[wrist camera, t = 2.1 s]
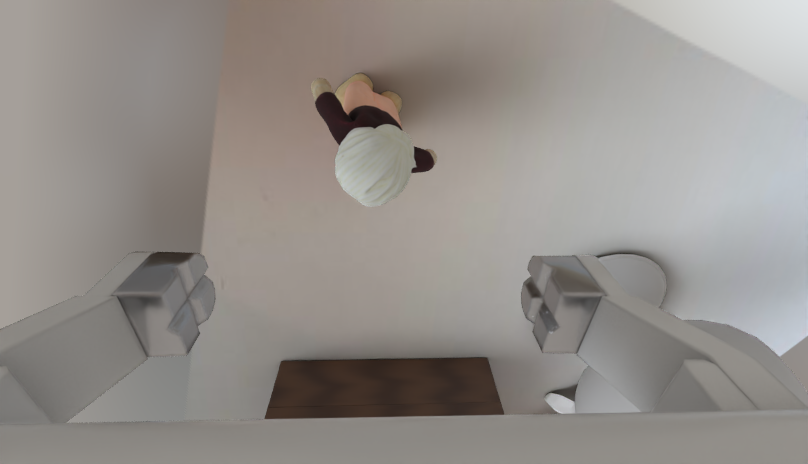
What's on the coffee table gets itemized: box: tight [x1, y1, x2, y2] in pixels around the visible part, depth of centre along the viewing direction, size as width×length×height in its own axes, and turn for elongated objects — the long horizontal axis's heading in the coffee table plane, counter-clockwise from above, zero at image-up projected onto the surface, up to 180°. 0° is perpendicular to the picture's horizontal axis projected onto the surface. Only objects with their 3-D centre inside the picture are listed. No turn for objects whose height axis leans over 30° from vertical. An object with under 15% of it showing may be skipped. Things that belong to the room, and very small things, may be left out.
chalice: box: [575, 254, 808, 413], centre depth 29 cm, size 14×14×15 cm
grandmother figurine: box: [311, 73, 437, 206], centre depth 19 cm, size 8×4×13 cm, turn 68°
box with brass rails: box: [265, 358, 505, 419], centre depth 39 cm, size 22×16×8 cm
